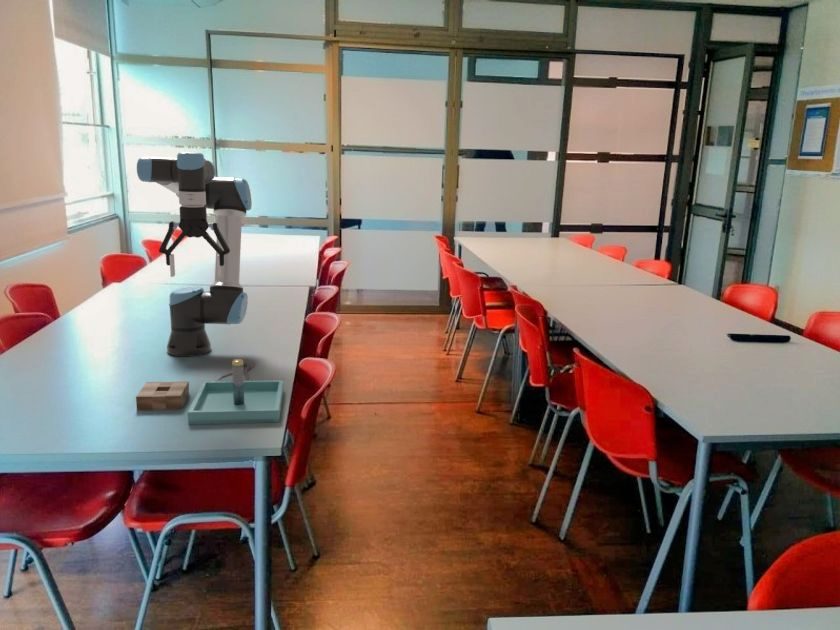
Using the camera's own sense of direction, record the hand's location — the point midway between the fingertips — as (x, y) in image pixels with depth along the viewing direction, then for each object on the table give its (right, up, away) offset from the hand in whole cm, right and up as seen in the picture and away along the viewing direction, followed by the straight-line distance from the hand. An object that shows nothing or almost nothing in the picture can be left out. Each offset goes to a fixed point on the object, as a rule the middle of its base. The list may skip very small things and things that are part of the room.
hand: (196, 276), depth 196 cm
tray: (+16, -39, -8) cm, 42 cm away
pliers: (+7, -32, +19) cm, 38 cm away
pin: (+16, -38, -9) cm, 42 cm away
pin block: (-7, -37, -7) cm, 39 cm away
